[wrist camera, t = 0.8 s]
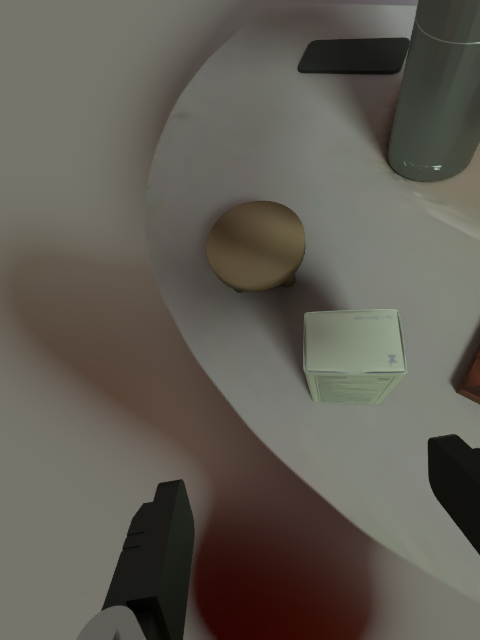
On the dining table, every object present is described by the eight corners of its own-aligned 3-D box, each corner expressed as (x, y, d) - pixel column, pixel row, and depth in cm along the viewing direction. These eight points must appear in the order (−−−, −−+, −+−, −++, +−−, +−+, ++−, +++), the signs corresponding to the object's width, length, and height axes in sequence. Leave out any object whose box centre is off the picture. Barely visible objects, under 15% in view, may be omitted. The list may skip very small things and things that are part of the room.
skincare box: (376, 360, 32) (403, 306, 21) (380, 407, 30) (412, 374, 20) (309, 359, 34) (303, 308, 23) (309, 404, 32) (302, 372, 21)
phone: (310, 39, 53) (411, 36, 48) (310, 45, 54) (410, 43, 49) (295, 70, 51) (399, 70, 46) (296, 76, 52) (398, 77, 47)
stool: (247, 226, 42) (235, 191, 37) (321, 250, 38) (321, 215, 33) (206, 291, 39) (188, 264, 34) (282, 323, 36) (275, 298, 30)
